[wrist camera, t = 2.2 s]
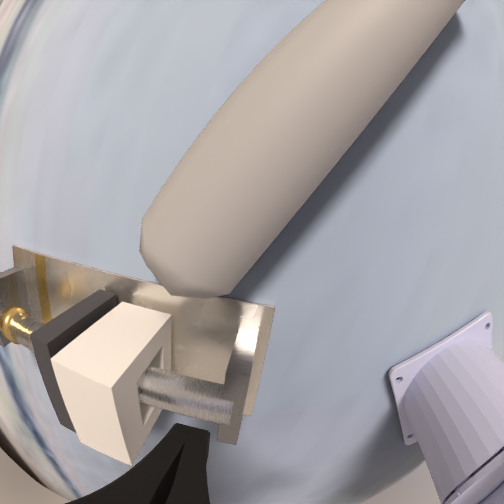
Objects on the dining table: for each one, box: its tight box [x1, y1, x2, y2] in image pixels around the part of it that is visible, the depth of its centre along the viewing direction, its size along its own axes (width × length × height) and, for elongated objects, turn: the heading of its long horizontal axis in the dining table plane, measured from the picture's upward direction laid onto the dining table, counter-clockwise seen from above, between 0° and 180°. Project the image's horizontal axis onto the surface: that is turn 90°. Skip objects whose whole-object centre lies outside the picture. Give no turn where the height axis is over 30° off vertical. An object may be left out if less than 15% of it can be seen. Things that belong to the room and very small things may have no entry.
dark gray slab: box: [30, 289, 117, 433], centre depth 12 cm, size 1×6×6 cm, turn 172°
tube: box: [140, 0, 465, 299], centre depth 9 cm, size 5×5×25 cm
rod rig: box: [0, 245, 275, 445], centre depth 13 cm, size 20×8×5 cm, turn 82°
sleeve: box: [51, 302, 172, 466], centre depth 11 cm, size 3×6×6 cm, turn 172°
